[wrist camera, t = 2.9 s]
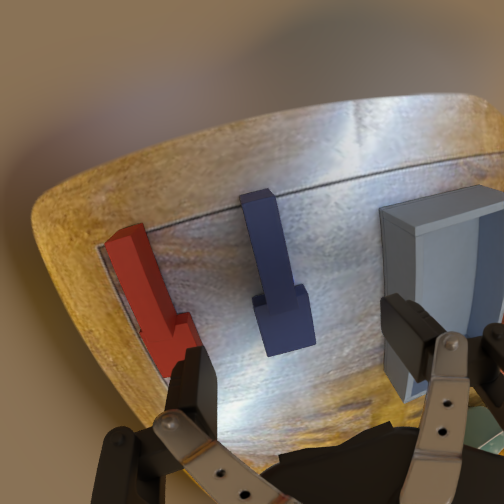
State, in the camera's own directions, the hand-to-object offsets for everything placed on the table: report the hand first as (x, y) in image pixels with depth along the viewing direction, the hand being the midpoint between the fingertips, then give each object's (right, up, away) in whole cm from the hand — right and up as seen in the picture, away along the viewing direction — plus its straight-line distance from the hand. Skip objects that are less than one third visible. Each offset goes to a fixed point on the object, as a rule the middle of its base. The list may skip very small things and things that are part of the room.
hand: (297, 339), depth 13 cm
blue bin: (+13, +1, +9) cm, 16 cm away
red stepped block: (-8, 0, +7) cm, 11 cm away
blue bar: (-1, +2, +7) cm, 8 cm away
